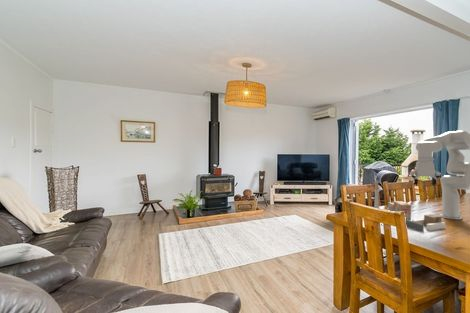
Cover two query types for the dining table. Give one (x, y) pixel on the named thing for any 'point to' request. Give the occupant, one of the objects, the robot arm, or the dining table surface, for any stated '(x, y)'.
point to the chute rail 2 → (435, 226)
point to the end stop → (415, 225)
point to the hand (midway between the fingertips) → (425, 184)
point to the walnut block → (432, 219)
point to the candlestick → (376, 195)
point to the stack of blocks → (400, 208)
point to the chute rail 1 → (419, 221)
